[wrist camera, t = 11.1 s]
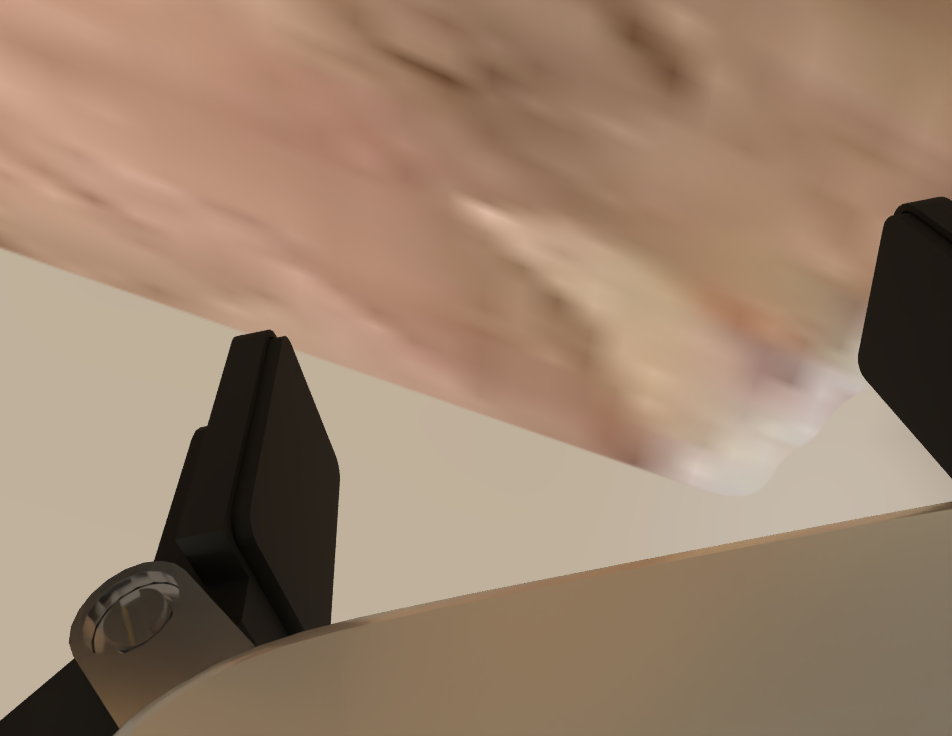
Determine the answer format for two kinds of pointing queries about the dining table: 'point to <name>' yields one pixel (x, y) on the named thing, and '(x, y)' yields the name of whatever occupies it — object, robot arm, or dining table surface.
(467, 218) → the dining table surface
